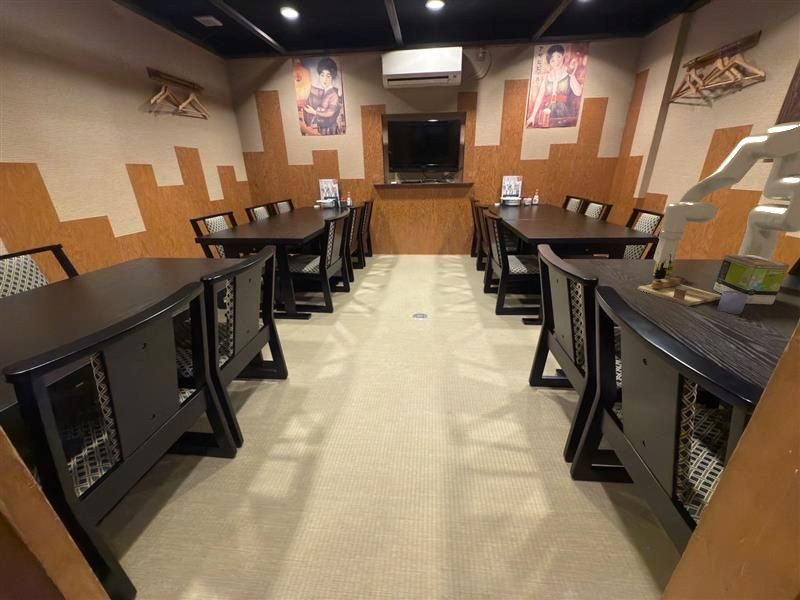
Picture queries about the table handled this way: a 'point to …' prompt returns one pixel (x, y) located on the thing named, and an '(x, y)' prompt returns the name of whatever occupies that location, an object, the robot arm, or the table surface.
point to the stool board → (682, 294)
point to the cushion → (732, 302)
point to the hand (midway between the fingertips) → (658, 278)
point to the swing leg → (667, 282)
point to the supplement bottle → (666, 271)
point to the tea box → (751, 277)
